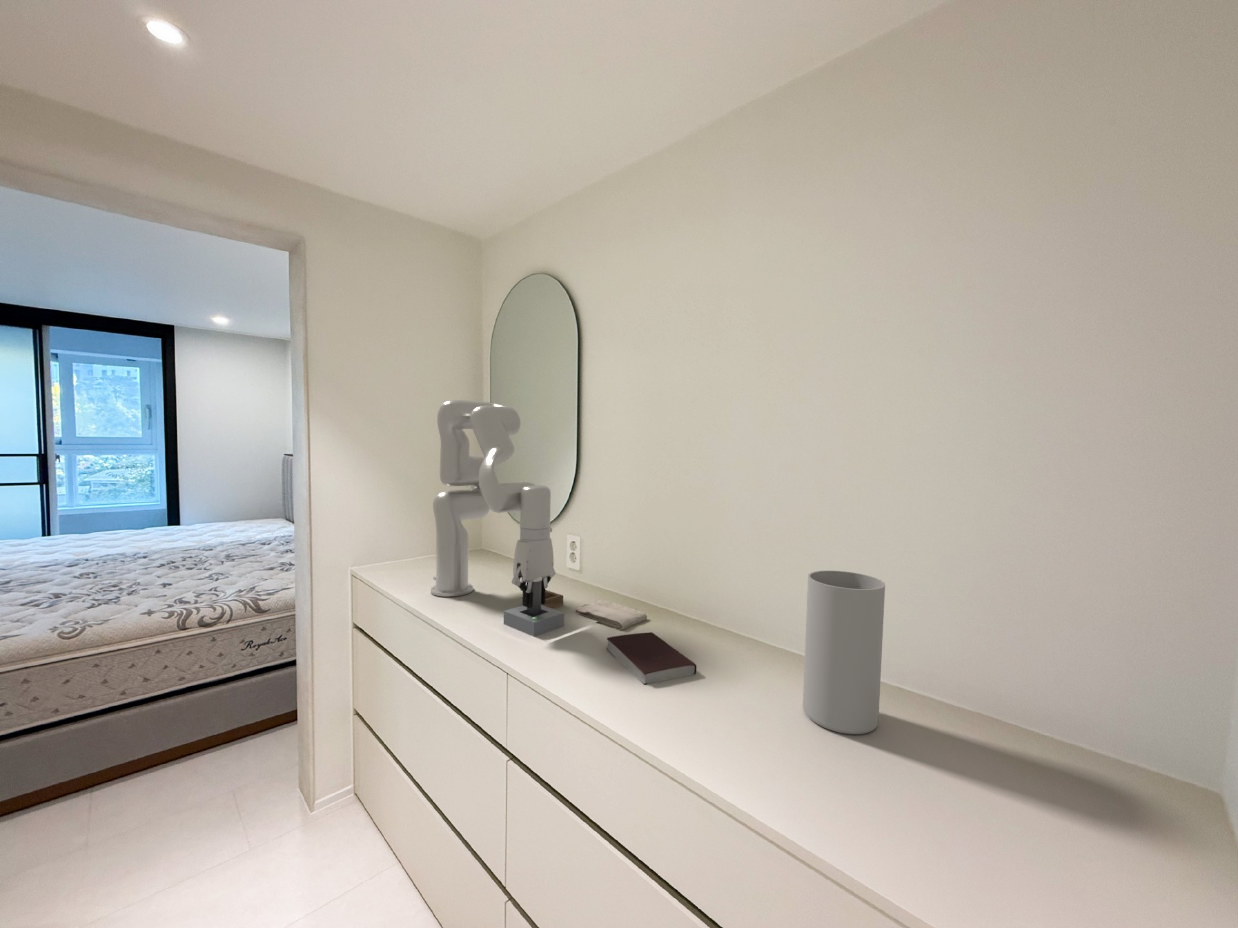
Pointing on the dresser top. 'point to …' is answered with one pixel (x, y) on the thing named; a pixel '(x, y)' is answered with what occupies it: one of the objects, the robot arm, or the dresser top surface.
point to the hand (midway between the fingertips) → (533, 604)
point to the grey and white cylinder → (535, 598)
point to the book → (649, 657)
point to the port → (534, 620)
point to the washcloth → (611, 614)
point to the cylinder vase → (843, 650)
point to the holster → (553, 599)
